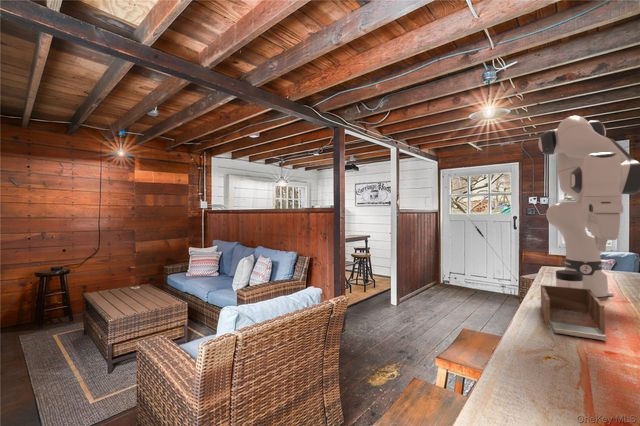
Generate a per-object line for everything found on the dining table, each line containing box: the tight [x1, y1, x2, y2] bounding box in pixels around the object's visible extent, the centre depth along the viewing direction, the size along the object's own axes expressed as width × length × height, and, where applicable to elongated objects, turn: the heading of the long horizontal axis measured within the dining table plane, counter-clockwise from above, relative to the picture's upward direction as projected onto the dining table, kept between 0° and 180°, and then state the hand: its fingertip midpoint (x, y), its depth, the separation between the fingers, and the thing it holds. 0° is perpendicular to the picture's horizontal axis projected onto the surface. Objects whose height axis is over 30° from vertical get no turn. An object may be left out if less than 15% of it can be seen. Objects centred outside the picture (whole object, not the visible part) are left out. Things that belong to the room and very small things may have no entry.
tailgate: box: [550, 321, 607, 341], centre depth 90 cm, size 1×11×8 cm
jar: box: [555, 269, 583, 289], centre depth 117 cm, size 9×8×12 cm
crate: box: [540, 284, 606, 333], centre depth 102 cm, size 20×14×8 cm
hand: (600, 250), depth 93 cm, fingers closed
